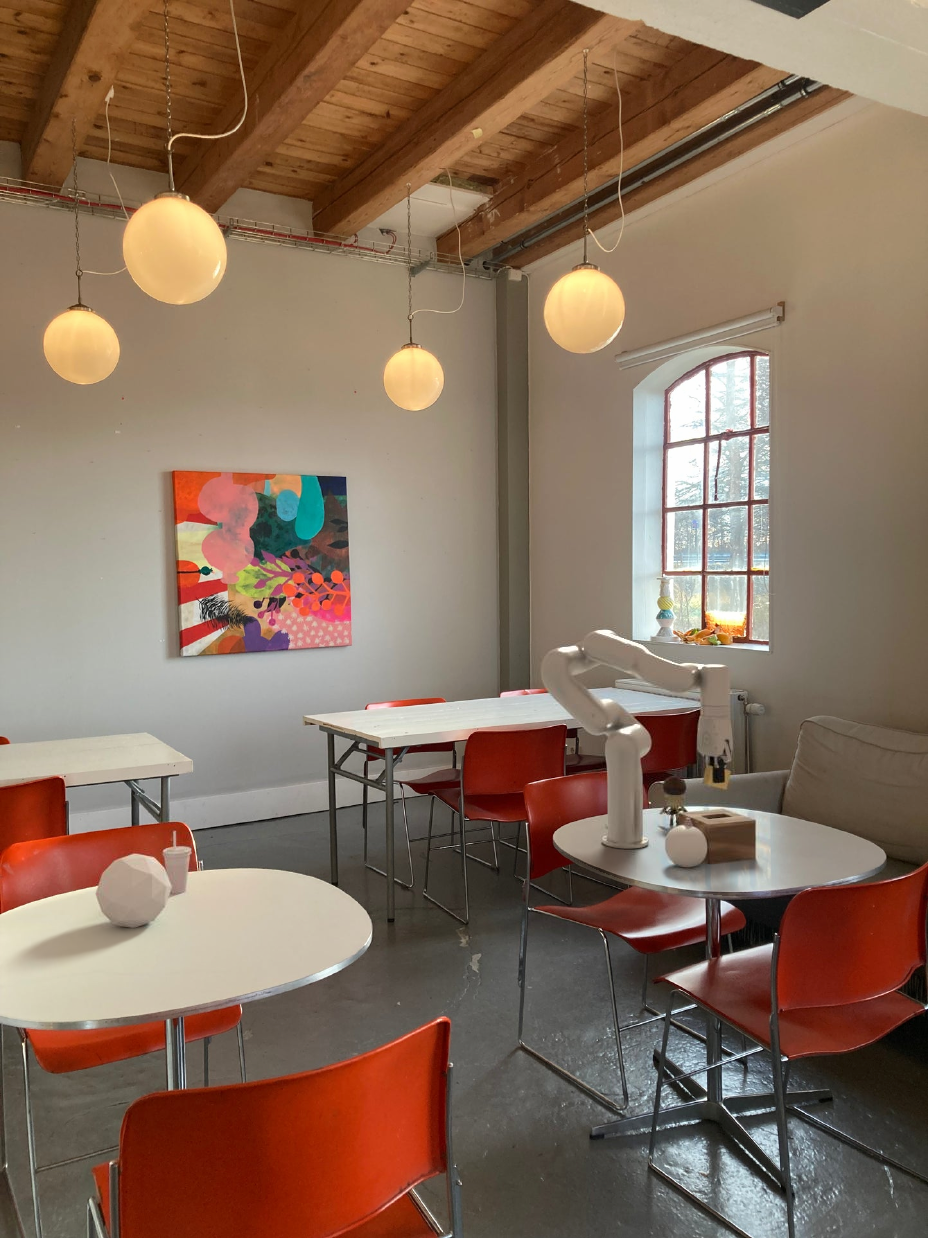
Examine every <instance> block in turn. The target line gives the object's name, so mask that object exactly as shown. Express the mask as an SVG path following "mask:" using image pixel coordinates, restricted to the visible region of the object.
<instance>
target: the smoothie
mask: <svg viewBox="0 0 928 1238" xmlns="http://www.w3.org/2000/svg"><path fill="white" fill-rule="evenodd" d="M172 833H173V837H172V840H173V842H172V843H173V846H170V847H167V848H165V849H163V850H162V856H163V857H164V866H165V871H166V873H167V876H168V878H169V881H170V883H171V886H172V888H171V891H170V894H172V895H178V894H183V893H185V892H187V883H188V874H189V865H190V859H191V858H190V857H191V856H190V855H191V854H192V848H191V847H189V846H183V845H181V846H180V845H179V846H177V831H176V830H173V832H172Z"/></svg>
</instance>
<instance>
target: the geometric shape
mask: <svg viewBox="0 0 928 1238" xmlns="http://www.w3.org/2000/svg"><path fill="white" fill-rule="evenodd" d="M171 888H172V886H171V883H170V881H169V878H168V876H167V873H166V867H164V866H163V865H162V864H161V863H160V861H158V860H157V858H156V857H155V856H148V855H144V854H140V853H131V854H129V855H127V856H123V857H120V858H118V859H115V860H113V862H111V864H110V865H109V866H108V867H107V868H106V869H105V870H104V871H103V872H102V873H101V876H100V880H99V882H98V885H97V888H96V891H95V896H96V899H97V902H98V905H99V908H100V910H101V913H102V914H103V915H104V916H105V917H106V918H107V919H108V920H109V921H110V922H111V923H112V925H114V926H118V927H126V928H131V929H135V928H138V927H140V926H144V925H146V924H148V923H151V922H153V921H155V920H156V919H157V918H158V916H159V915H160V914H161V913H162V912H163V911H164V909H165V908H166V905H167V902H168V900H169V896H170V894H171V893H170V891H171Z"/></svg>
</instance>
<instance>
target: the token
mask: <svg viewBox="0 0 928 1238" xmlns="http://www.w3.org/2000/svg"><path fill="white" fill-rule="evenodd" d="M713 768H715V767H713V766H709V765H706V764H705V771H704V775H703V779H702V782H701V783H702V784H703V785H705V786H708V787H709V786H710V787H713V788H718V789H723V790H727V789H728V785H729V782H730V781H729V780H730V776H731V770H729V769H725V782H724V783H714V782H713Z"/></svg>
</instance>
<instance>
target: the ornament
mask: <svg viewBox="0 0 928 1238" xmlns="http://www.w3.org/2000/svg"><path fill="white" fill-rule="evenodd" d="M687 823H688V824H687ZM664 842H665V843H664V849H665V853H666V855H667V858H668V859H669V860H670V862H672V863H673V864H675V865H677V866H678V867H682V868H692V867H696V866H698V865H700V864H701V863H703V862H704V861H703V860H704V858H705V856H706V853H707V842H706V838H705V836H704V835H703V833H702V832H701V831H700V830H699V829H697V828H696V827H693V825H692V822H691V820H690V818H686V820H685V823H684V825H680V826H677V825H676V826H675V827H673V828H672V829H670V830H669V832H668V833H667V834H666V837H665V840H664Z"/></svg>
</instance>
